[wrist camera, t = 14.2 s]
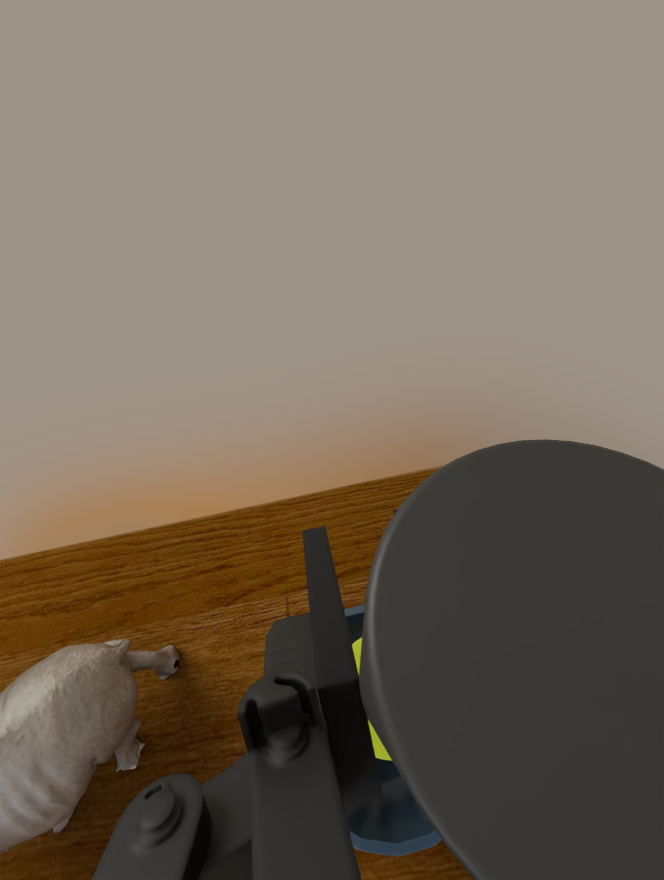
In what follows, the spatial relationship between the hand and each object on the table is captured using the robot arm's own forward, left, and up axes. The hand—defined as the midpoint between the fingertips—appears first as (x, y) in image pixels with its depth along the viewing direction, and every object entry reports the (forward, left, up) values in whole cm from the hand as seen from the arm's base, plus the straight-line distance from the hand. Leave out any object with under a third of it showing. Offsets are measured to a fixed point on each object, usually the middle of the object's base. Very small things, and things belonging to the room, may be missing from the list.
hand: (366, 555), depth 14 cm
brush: (0, +4, -9) cm, 10 cm away
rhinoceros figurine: (+20, +3, -18) cm, 27 cm away
